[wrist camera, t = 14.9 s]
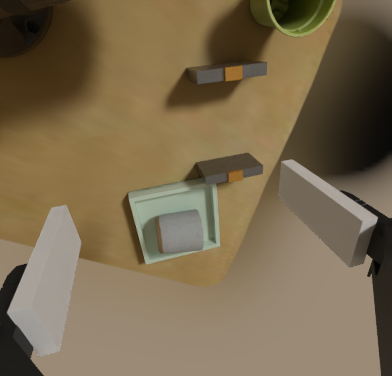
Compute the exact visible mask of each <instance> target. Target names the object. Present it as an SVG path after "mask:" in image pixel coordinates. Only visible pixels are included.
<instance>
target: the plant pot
mask: <svg viewBox="0 0 392 376" xmlns="http://www.w3.org/2000/svg"><path fill="white" fill-rule="evenodd" d="M335 2H336V0H272V3H270V1H269V0H250V10H251V13H252V16H253V17H254V19H255V20H256V21H257V22H258V23H259V24H261V25H264V26H268V27H274V28H277V29H278V30H279V31H280V32H282V33H283V34H285V35H288V36H291V37H302V36H305V35H308V34H310V33H312V32H314V31H315V30H316V29H318V28H319V27H320V26H321V25H322V24H323V23H324V21H325V20H326V19H327V18H328V16H329V15H330V13H331V11H332V9H333V7H334V5H335ZM277 15H278V17H277V19H276V20H275V18H274V17H276V16H277Z"/></svg>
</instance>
